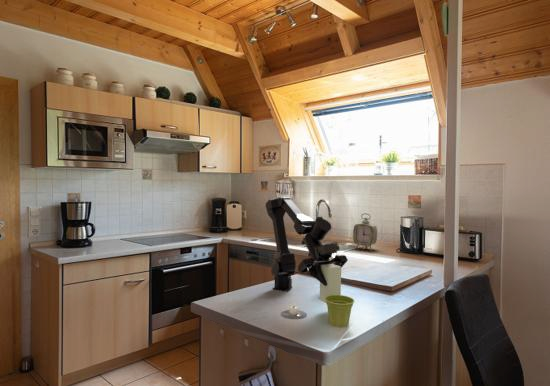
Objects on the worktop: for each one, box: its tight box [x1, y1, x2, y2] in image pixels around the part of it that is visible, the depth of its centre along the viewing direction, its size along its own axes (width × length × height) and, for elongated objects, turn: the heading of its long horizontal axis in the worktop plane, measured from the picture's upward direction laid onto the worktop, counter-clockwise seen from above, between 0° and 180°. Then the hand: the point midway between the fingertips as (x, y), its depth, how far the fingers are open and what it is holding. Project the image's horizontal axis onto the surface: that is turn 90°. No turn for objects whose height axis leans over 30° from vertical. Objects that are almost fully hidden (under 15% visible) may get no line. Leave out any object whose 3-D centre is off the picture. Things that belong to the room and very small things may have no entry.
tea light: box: [288, 305, 299, 316], centre depth 129 cm, size 3×3×3 cm
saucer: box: [280, 309, 308, 320], centre depth 129 cm, size 9×9×1 cm
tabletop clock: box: [352, 213, 378, 252], centre depth 262 cm, size 14×9×25 cm, turn 53°
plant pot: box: [325, 294, 355, 328], centre depth 122 cm, size 9×9×9 cm
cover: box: [318, 264, 342, 304], centre depth 133 cm, size 5×5×12 cm
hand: (332, 284), depth 132 cm, fingers closed on cover, 5 cm apart
